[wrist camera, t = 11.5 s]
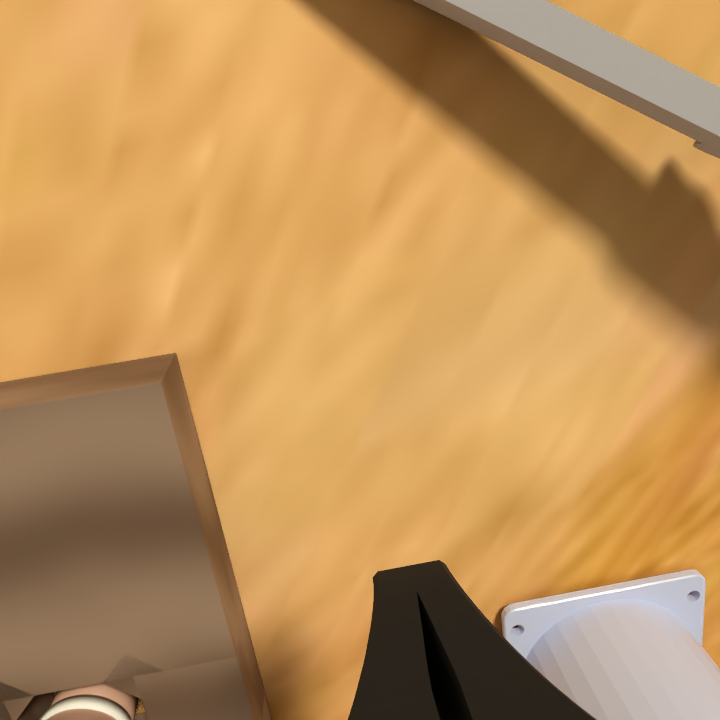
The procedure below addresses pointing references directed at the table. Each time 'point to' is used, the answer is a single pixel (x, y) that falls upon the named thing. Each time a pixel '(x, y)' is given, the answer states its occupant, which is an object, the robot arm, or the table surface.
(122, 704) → the peg
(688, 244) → the table surface
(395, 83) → the table surface
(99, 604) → the board
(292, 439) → the table surface
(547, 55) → the caliper
